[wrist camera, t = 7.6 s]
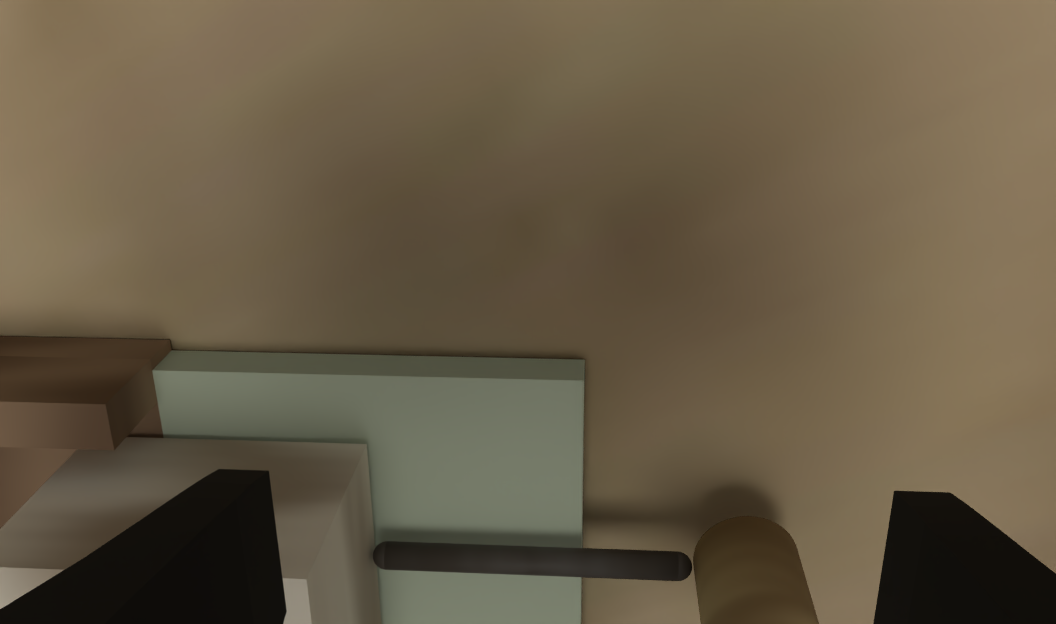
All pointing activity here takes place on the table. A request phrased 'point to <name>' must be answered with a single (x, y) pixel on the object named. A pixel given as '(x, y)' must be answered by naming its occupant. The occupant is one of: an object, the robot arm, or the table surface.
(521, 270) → the table surface
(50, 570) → the block rod cylinder assembly
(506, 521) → the pad
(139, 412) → the lane shelf
